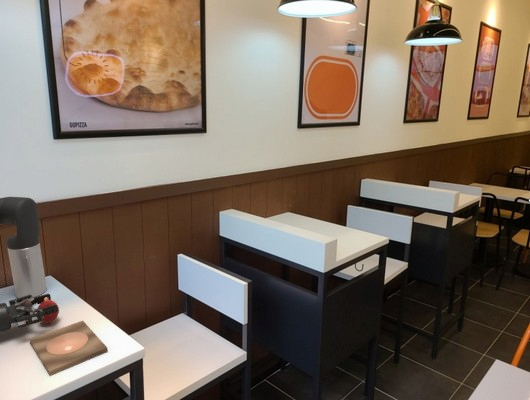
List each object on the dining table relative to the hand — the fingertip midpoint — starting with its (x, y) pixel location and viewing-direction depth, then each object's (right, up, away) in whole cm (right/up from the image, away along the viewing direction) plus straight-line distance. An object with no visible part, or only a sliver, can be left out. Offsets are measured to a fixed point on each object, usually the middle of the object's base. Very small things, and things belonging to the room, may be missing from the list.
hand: (53, 302), depth 121 cm
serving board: (+10, -9, -11) cm, 18 cm away
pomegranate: (-1, -6, 0) cm, 6 cm away
